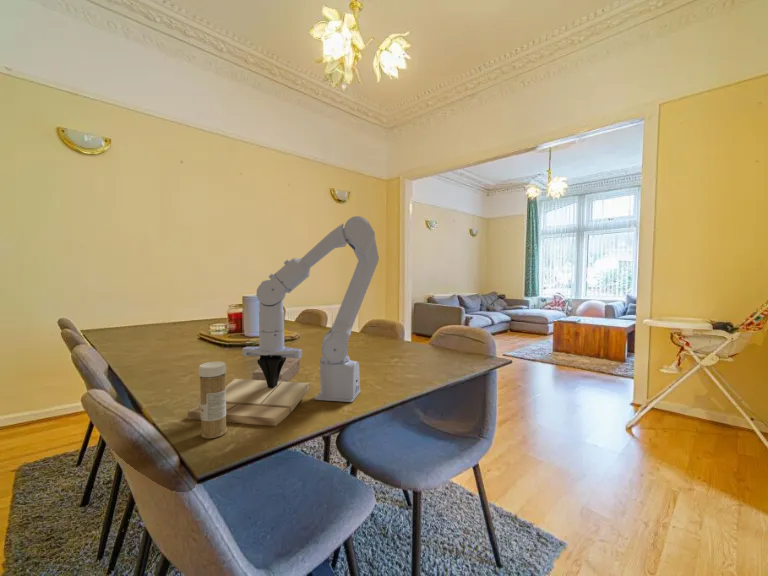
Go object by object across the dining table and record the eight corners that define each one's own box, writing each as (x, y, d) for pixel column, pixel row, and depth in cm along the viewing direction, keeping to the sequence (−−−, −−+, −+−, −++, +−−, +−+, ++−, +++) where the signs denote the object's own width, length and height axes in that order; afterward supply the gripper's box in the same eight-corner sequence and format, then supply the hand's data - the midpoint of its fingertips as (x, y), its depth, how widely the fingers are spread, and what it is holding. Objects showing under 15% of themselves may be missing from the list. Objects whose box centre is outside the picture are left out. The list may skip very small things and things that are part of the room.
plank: (309, 388, 85) (308, 382, 84) (291, 412, 75) (290, 405, 75) (236, 384, 88) (235, 378, 88) (210, 406, 79) (208, 399, 78)
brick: (280, 389, 92) (280, 371, 92) (250, 388, 92) (250, 371, 92) (300, 371, 108) (300, 357, 108) (275, 371, 109) (274, 356, 109)
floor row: (289, 414, 74) (289, 406, 74) (275, 426, 68) (275, 417, 68) (207, 407, 78) (207, 400, 78) (188, 418, 72) (187, 410, 72)
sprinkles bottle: (200, 431, 66) (198, 362, 66) (226, 426, 68) (224, 359, 68) (200, 441, 62) (198, 368, 62) (228, 436, 64) (226, 364, 64)
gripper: (234, 332, 80) (235, 390, 81) (292, 334, 77) (293, 394, 78) (251, 327, 87) (252, 380, 87) (305, 329, 84) (306, 384, 85)
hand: (272, 386), depth 83 cm, fingers closed, pressing on plank
